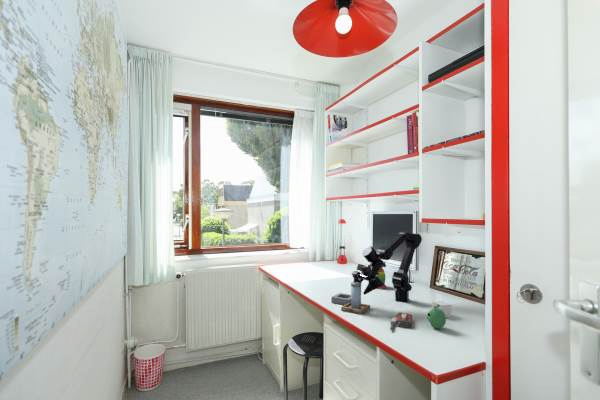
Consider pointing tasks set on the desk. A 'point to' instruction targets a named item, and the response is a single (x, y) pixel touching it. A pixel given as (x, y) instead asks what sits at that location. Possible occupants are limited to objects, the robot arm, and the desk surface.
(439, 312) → the alien toy
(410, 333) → the desk surface
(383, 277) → the stacking bear
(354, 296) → the ball
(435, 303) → the pale pink cube
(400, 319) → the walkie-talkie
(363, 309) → the tray
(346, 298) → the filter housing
